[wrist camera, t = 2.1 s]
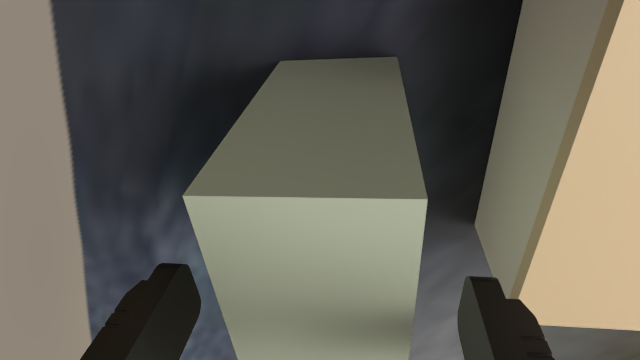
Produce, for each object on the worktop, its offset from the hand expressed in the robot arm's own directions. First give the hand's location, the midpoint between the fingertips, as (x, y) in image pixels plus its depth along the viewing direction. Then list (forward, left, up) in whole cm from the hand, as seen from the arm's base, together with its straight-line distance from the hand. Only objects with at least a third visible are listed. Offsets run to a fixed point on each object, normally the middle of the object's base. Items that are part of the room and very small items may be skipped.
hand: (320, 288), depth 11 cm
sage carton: (0, 0, -9) cm, 9 cm away
